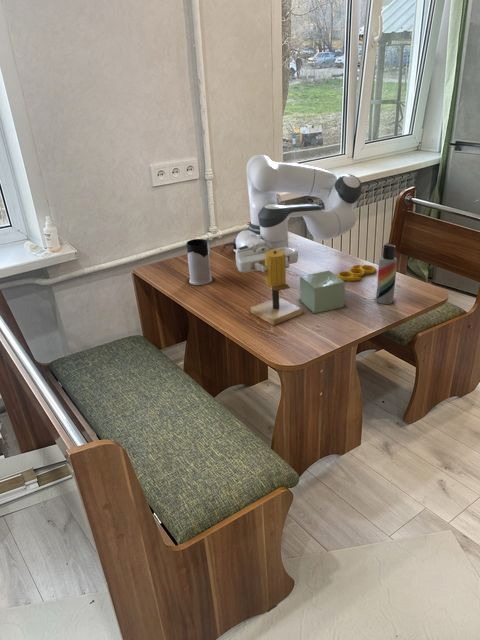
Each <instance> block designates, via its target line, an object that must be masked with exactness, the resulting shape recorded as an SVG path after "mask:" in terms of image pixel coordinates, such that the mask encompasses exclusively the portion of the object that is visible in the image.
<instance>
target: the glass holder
mask: <svg viewBox="0 0 480 640" xmlns="http://www.w3.org/2000/svg"><path fill="white" fill-rule="evenodd" d="M186 251H187V254H186V255H187V263H188V271H189V272H188V273H189V280H188V283H189V284H191V285H193V286H204V285H208V284H210V283H212V281H213V277H212V276H211V275H212V274H211V264H210V255H211V241H210V239H209V238H204V239H203V238H193V239H190V240H187V241H186Z"/></svg>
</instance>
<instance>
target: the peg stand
mask: <svg viewBox="0 0 480 640" xmlns="http://www.w3.org/2000/svg"><path fill="white" fill-rule="evenodd" d="M250 314H252V315H254V316H256V317H257V318H259V319H261V320H262V321H265V322H267V323H268V324H270V325H272V326H275V325H279V324H280V323H283V322H285V321H287V320H290V319H292V318H295V317H297V316H299V315H301V314H303V309H302V307H300V306H298V305H296V304H294V303H292V302H290V301H288V300H286V299H284V298H282V297H280V290H279V291H275V290H274V289H273V288H272V287H271V299H269V300H266V301H264V302H261V303H258V304H256V305H253V306H250Z"/></svg>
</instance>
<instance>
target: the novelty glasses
mask: <svg viewBox="0 0 480 640" xmlns="http://www.w3.org/2000/svg"><path fill="white" fill-rule="evenodd" d="M376 269H377V268H376V267H375V266H374V265H369V264H356V265H353V266H352V268H350V269H349V271H340V272H338V273H337V275H336V276H337V277H339V278H340V279H341V280H343V281H345V282H346V281H348V282H355V281H356V282H357V281H360V280H361V279H362V277H364V276H365V275H371V274H374V273H376Z"/></svg>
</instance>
